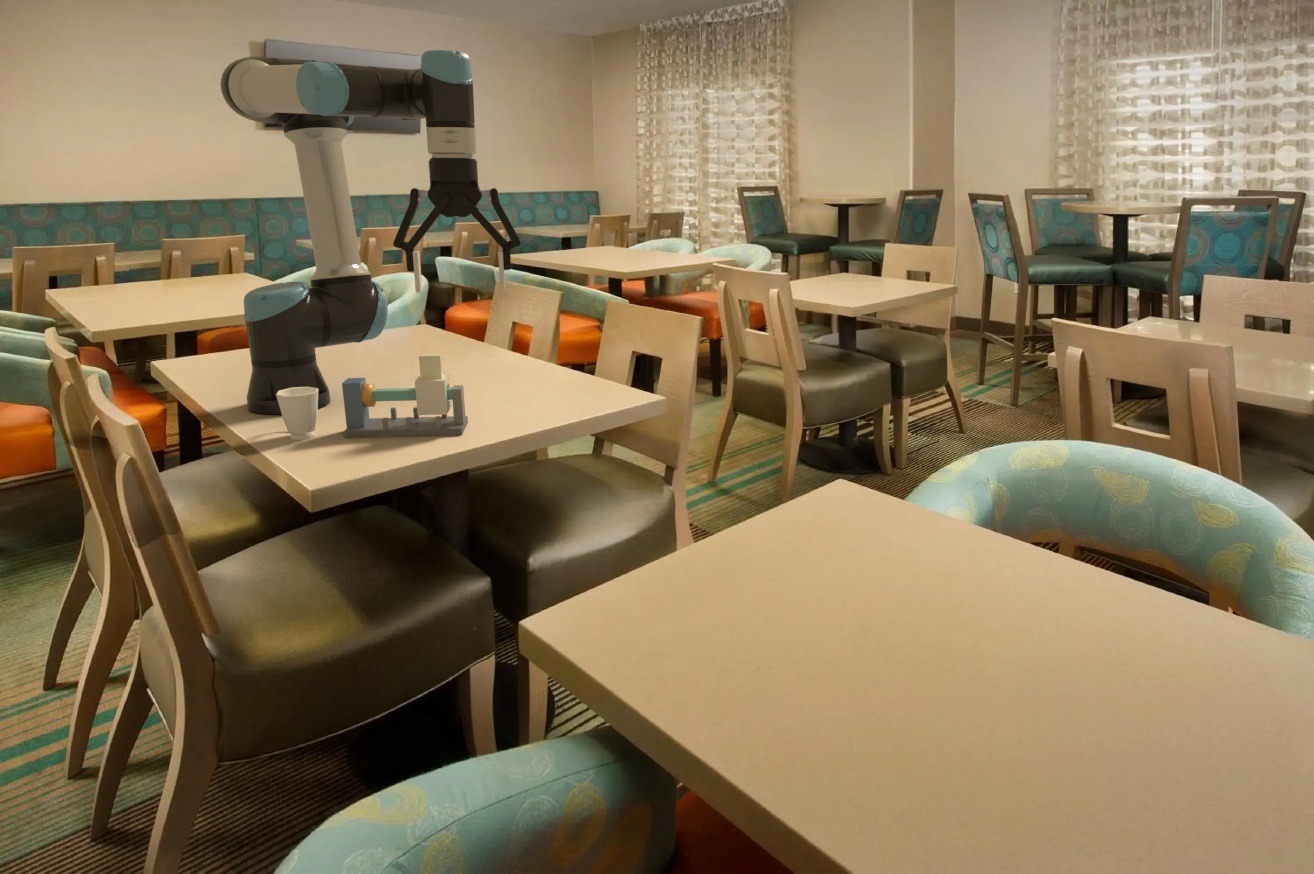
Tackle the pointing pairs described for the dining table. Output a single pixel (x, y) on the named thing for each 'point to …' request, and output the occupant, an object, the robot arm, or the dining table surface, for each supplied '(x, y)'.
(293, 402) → the cup
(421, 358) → the sleeve
